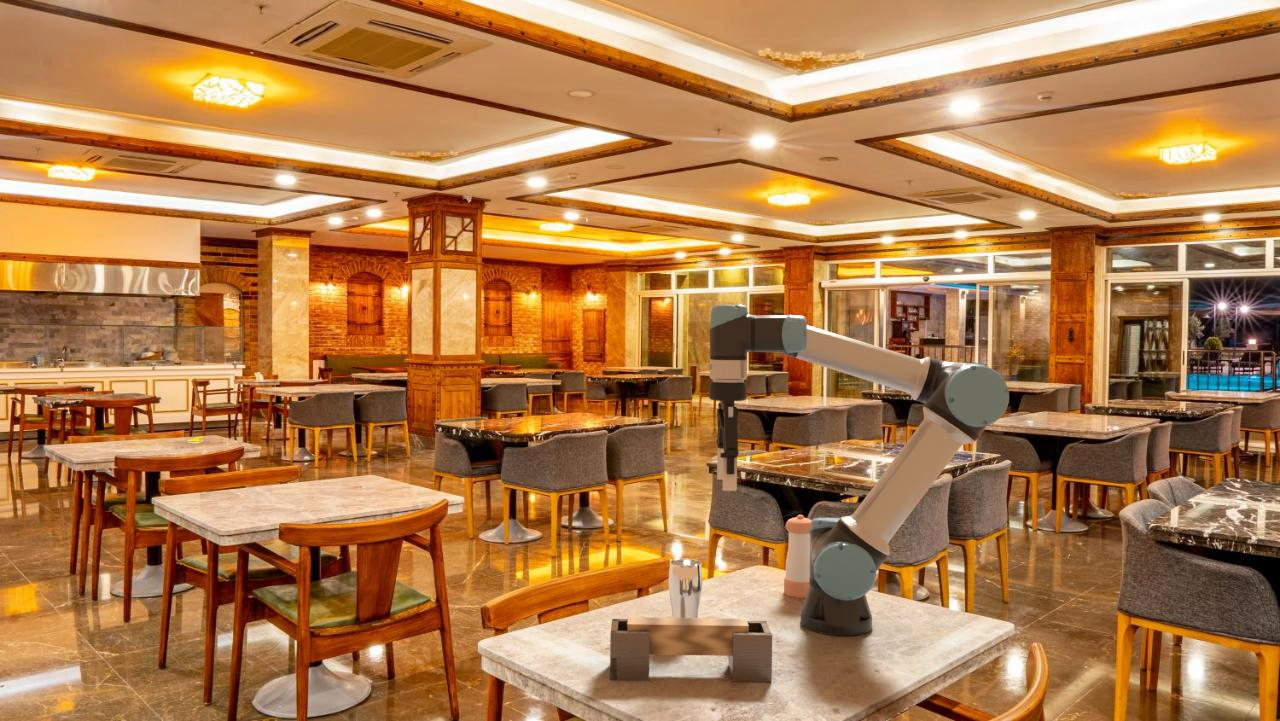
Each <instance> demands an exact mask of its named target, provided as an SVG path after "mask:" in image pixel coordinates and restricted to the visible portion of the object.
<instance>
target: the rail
mask: <svg viewBox="0 0 1280 721" xmlns="http://www.w3.org/2000/svg"><path fill="white" fill-rule="evenodd" d="M627 619H628V623H627V631H650V635H649V656H651V655H654V656H655V655H656V656H657V655H658V656H659V655H660V656H663V655H664V656H666V655H667V656H713V657H714V656H719V657H720V656H723V657H729V656H732V635H733V632H738V633H749V625H748V623H747V621H748V620H747V618H719V617H718V618H716V617H715V618H711V617H710V618H705V617H704V618H703V617H700V618H672V617H647V616H646V617H642V616H641V617H640V616H637V617H635V616H634V617H632V616H630V617H629V616H628V617H627Z"/></svg>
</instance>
